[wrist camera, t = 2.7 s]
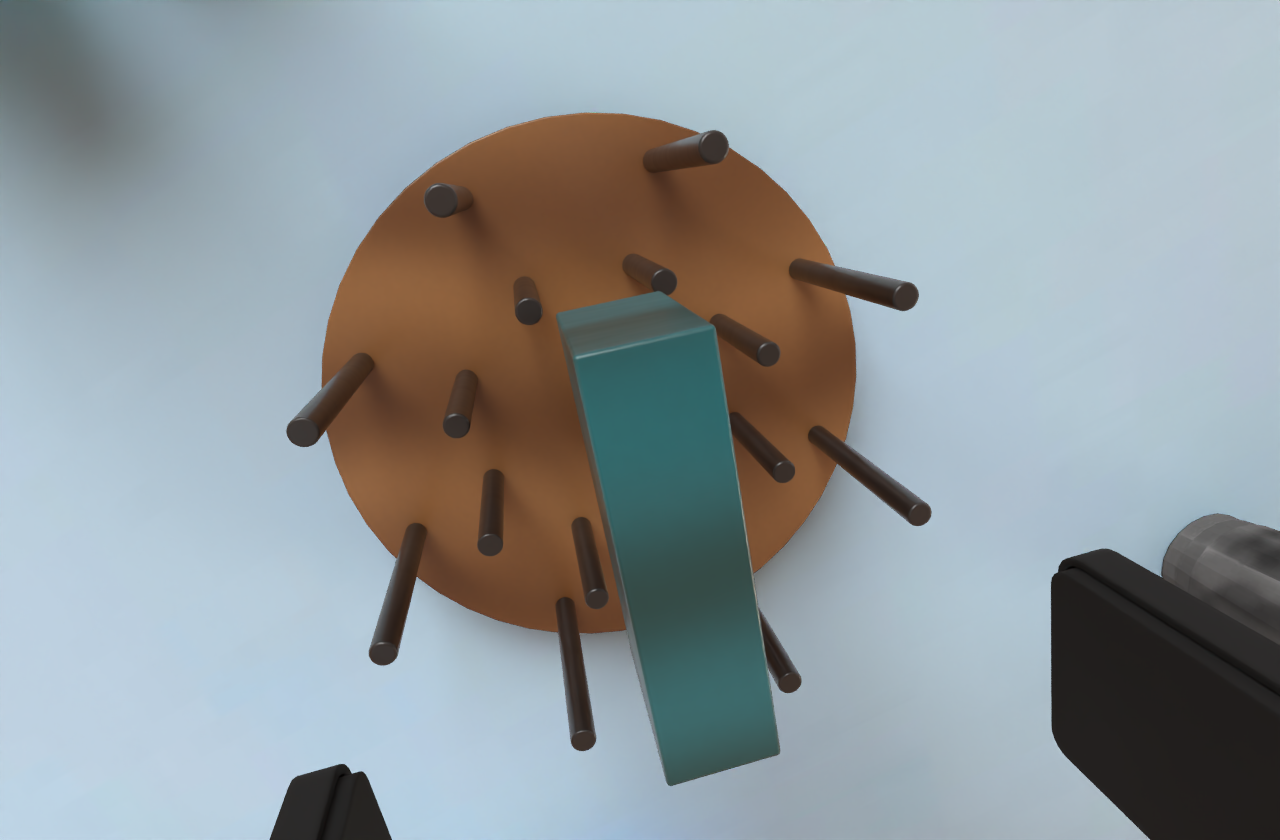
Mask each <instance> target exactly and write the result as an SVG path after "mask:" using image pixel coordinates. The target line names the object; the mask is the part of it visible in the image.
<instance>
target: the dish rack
mask: <svg viewBox="0 0 1280 840" xmlns="http://www.w3.org/2000/svg"><path fill="white" fill-rule="evenodd" d="M845 294H846V295H849V296H853V297H856V298H859V299H863V300H866V301H869V302H873V303H876V304H880V305H883V306H886V307H890V308H893V309H896V310H900V311H907V310H909V309H911V308H912V307H914V306H915V304H916V303H917V301H918V297H919V293H918V290H917V288H916V286H915V285H914V284H912V283H910V282H905V281H901V280H896V279H891V278H887V277H882V276H878V275H873V274H869V273H864V272H860V271H855V270H851V269H846V268H842V267H837V266H835V265H834V263H833V260H832V258H831V256H830V254H829V251H828V249H827V247H826V246H825V244H824V243H823V241H822V239H821V238H820V236H819V234H818V233H817V231H816V230H815V228H814V226H813V225H812V223H811V222H810V220H809V219H808V217H807V216H806V215H805V214H804V213H803V211H802V210H801V209H800V208H799V207H798V205H797V204H796V203H795V202H794V201H793V199H792V198H791V197H790V196H789V195H788V193H787V192H786V191H785V190H783V189H782V188H781V187H780V186H779V185H778V184H777V183H776V182H775V181H774V180H772V179H771V178H770V177H769V176H768V175H767V174H766V173H765V172H764V171H763V170H761V169H760V168H759V167H757V166H756V165H754V164H753V163H751V162H750V161H748V160H747V159H746V158H744V157H743V156H741V155H740V154H738V153H737V152H735V151H734V150H732V149H731V148H729V144H728V140H727V138H726V136H725V135H724V134H723V133H721V132H719V131H716V130H711V131H707V132H704V133H701V134H700V133H698V132H696V131H693V130H690V129H687V128H683V127H680V126H677V125H674V124H671V123H668V122H665V121H662V120H657V119H651V118H645V117H639V116H634V115H628V114H614V113H577V114H568V115H559V116H550V117H544V118H540V119H536V120H532V121H529V122H525V123H521V124H517V125H513V126H509V127H506V128H504V129H501V130H499V131H497V132H494V133H492V134H489V135H487V136H485V137H482V138H480V139H478V140H475V141H473V142H470V143H469V144H467V145H465V146H464V147H462V148H460V149H459V150H457V151H455V152H454V153H452V154H450V155H449V156H447V157H445V158H444V159H442V160H440V161H439V162H437V163H436V164H434V165H433V166H432V167H431V168H430V169H428V170H427V171H426V172H425V173H423V174H422V175H421V176H420V177H418V178H417V179H416V180H415V181H414V182H412V183H411V184H410V185H409V186H407V187H406V188H405V189H404V190H403V191H402V192H401V193H400V195H399V196H398V197H397V198H396V199H395V200H394V201H393V202H392V203H391V204H390V205H389V207H388V208H387V209H386V210H385V211H384V212H383V213H382V214H381V215H380V216H379V218H378V219H377V220H376V222H375V223H374V225H373V226H372V228H371V229H370V231H369V232H368V234H367V235H366V237H365V238H364V240H363V241H362V242H361V244H360V245H359V247H358V248H357V250H356V252H355V254H354V256H353V258H352V260H351V262H350V264H349V266H348V268H347V270H346V273H345V275H344V277H343V279H342V281H341V283H340V285H339V288H338V291H337V295H336V298H335V301H334V304H333V307H332V310H331V313H330V317H329V320H328V325H327V331H326V337H325V344H324V350H323V356H322V389H321V390H320V391H319V392H318V393H317V394H316V395H315V396H314V398H313V399H312V400H311V401H310V402H309V403H308V404H307V405H306V406H305V407H304V408H303V409H302V410H301V411H300V412H299V413H298V414H297V415H296V416H295V417H294V418H293V420H292V421H291V422H290V423H289V424H288V426H287V436H288V438H289V440H290V441H291V442H292V443H293V444H295V445H297V446H300V447H309V446H312V445H314V444H315V443H316V442H317V441H318V440H319V438H320V437H321V436H322V435H323V433H324V432H325V431H327V434H328V438H329V442H330V445H331V449H332V453H333V456H334V460H335V463H336V466H337V468H338V470H339V473H340V475H341V477H342V480H343V482H344V484H345V487H346V489H347V491H348V494H349V496H350V497H351V499H352V501H353V502H354V504H355V506H356V507H357V509H358V511H359V512H360V514H361V515H362V517H363V519H364V520H365V522H366V524H367V525H368V526H369V528H370V529H371V530H372V531H373V532H374V534H375V535H376V536H377V537H378V539H379V540H380V541H381V542H382V544H383V545H384V546H385V547H386V549H387V550H388V551H389V552H390V553H391V554H392V555H393V556H394V557H395V558H397V560H396V563H395V567H394V570H393V573H392V577H391V580H390V583H389V586H388V590H387V593H386V596H385V599H384V603H383V606H382V609H381V613H380V616H379V619H378V622H377V626H376V629H375V632H374V636H373V639H372V642H371V645H370V649H369V657H370V659H371V660H372V662H374V663H375V664H377V665H388V664H390V663H392V662H393V661H394V660H395V659H396V658H397V656H398V652H399V648H400V643H401V639H402V635H403V631H404V627H405V623H406V618H407V614H408V610H409V606H410V602H411V597H412V593H413V589H414V585H415V581H416V577H418V578H419V579H421V580H422V581H423V582H425V583H426V584H428V585H429V586H430V587H432V588H433V589H434V590H436V591H437V592H439V593H440V594H442V595H444V596H446V597H448V598H449V599H451V600H453V601H455V602H457V603H458V604H460V605H462V606H464V607H466V608H468V609H470V610H473V611H475V612H478V613H480V614H483V615H485V616H488V617H490V618H493V619H495V620H498V621H502V622H506V623H510V624H513V625H517V626H521V627H525V628H529V629H536V630H543V631H551V632H558V634H559V643H560V652H561V660H562V669H563V678H564V687H565V695H566V704H567V713H568V722H569V730H570V739H571V744H572V746H573V747H574V748H575V749H576V750H579V751H586V750H589V749H590V748H592V747H593V746H594V744H595V742H596V733H595V727H594V721H593V715H592V709H591V702H590V696H589V690H588V684H587V678H586V672H585V665H584V659H583V653H582V647H581V641H580V635H579V633H602V632H613V631H623V630H627V635H628V639H629V644H630V648H631V652H632V656H633V660H634V664H635V667H636V671H637V675H638V679H639V682H640V686H641V690H642V693H643V697H644V701H645V705H646V708H647V712H648V716H649V719H650V723H651V727H652V731H653V734H654V738H655V742H656V745H657V749H658V753H659V757H660V760H661V764H662V768H663V771H664V775H665V779H666V782H667V784H668V785H669V786H673V785H676V784H679V783H683V782H686V781H690V780H693V779H697V778H700V777H704V776H707V775H710V774H714V773H717V772H721V771H724V770H728V769H731V768H734V767H738V766H741V765H745V764H748V763H752V762H755V761H759V760H762V759H765V758H769V757H772V756H776V755H778V754H780V745H779V738H778V732H777V725H776V718H775V712H774V705H773V699H772V692H771V686H770V679H769V673H768V669H769V671H770V673H771V675H772V676H773V678H774V680H775V682H776V684H777V686H778V687H779V689H780V690H781V691H783V692H785V693H792V692H794V691H796V690H797V689H798V688H799V687H800V685H801V676H800V674H799V673H798V671H797V669H796V668H795V666H794V665H793V663H792V661H791V660H790V658H789V656H788V655H787V653H786V651H785V650H784V648H783V646H782V645H781V643H780V641H779V640H778V638H777V637H776V635H775V633H774V632H773V630H772V628H771V627H770V625H769V623H768V622H767V620H766V618H765V617H764V615H763V613H762V612H761V610H760V608H759V607H758V601H757V594H756V588H755V581H754V575H753V574H754V573H755V572H756V571H757V570H759V569H760V568H761V567H763V566H764V565H765V564H766V563H767V562H768V561H769V560H770V559H771V558H772V557H773V556H774V555H775V554H776V553H777V552H778V551H779V550H780V549H781V548H782V547H784V545H785V544H786V543H787V542H788V541H789V539H790V538H791V537H792V536H793V535H794V534H795V532H796V531H797V530H798V529H799V528H800V526H801V525H802V524H803V523H804V521H805V520H806V518H807V517H808V515H809V514H810V512H811V511H812V509H813V508H814V506H815V505H816V503H817V502H818V500H819V499H820V497H821V495H822V493H823V491H824V489H825V487H826V485H827V483H828V481H829V479H830V477H831V475H832V473H833V471H834V469H835V467H836V464H838V465H839V466H841V467H842V468H843V469H844V470H846V471H847V472H848V473H849V474H850V475H852V476H853V477H854V478H855V479H856V480H858V481H859V482H860V483H861V484H863V485H864V486H865V487H866V488H867V489H869V490H870V491H871V492H872V493H874V494H875V495H876V496H877V497H878V498H880V499H881V500H882V501H883V502H885V503H886V504H887V505H888V506H889V507H891V508H892V509H893V510H894V511H896V512H897V513H898V514H899V515H900V516H902V517H903V518H904V519H905V520H906V521H908V522H909V523H910V524H912V525H914V526H921V525H924V524H925V523H927V522H928V520H929V519H930V517H931V508H930V506H929V505H928V504H927V503H925V502H924V501H923V500H921V499H920V498H919V497H917V496H916V495H915V494H913V493H912V492H911V491H909V490H908V489H907V488H905V487H904V486H903V485H901V484H900V483H898V482H897V481H896V480H894V479H893V478H892V477H890V476H889V475H888V474H886V473H885V472H884V471H882V470H881V469H880V468H878V467H877V466H875V465H874V464H873V463H871V462H870V461H869V460H867V459H866V458H865V457H863V456H862V455H861V454H859V453H858V452H857V451H855V450H854V449H852V448H851V447H850V446H848V445H847V444H846V443H844V442H845V439H846V436H847V431H848V427H849V423H850V418H851V414H852V409H853V402H854V392H855V382H856V350H855V338H854V332H853V325H852V319H851V313H850V308H849V305H848V302H847V298H846V295H845Z"/></svg>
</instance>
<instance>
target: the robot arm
mask: <svg viewBox="0 0 1280 840" xmlns="http://www.w3.org/2000/svg"><path fill="white" fill-rule="evenodd" d="M1051 696H1052V732H1053V735H1054V739H1055V741H1056V743H1057V745H1058V747H1059V748H1060V750H1061V751H1062V753H1063V754H1064V755H1065V756H1066V757H1067V758H1068V759H1069V760H1070V761H1071V762H1072V763H1073V764H1074V765H1075V766H1076V767H1077V768H1078V769H1079V770H1080V771H1081V772H1082V773H1083V774H1084V775H1085V776H1086V777H1087V778H1088V779H1089V780H1090V781H1091V782H1092V783H1093V784H1094V785H1095V786H1096V787H1097V788H1098V789H1099V790H1100V791H1101V792H1102V793H1103V794H1104V795H1105V796H1107V797H1108V798H1109V799H1110V800H1111V801H1112V802H1113V803H1114V804H1115V805H1116V806H1117V807H1118V808H1119V809H1120V810H1121V811H1122V812H1123V813H1124V814H1125V815H1126V816H1127V817H1128V818H1129V819H1130V820H1131V821H1132V822H1133V823H1134V824H1135V825H1136V826H1137V827H1138V828H1139V829H1140V830H1141V831H1142V832H1143V833H1144V834H1145V835H1146V836H1147V837H1148V838H1149V839H1150V840H1280V645H1279V644H1277V643H1275V642H1273V641H1272V640H1270V639H1268V638H1266V637H1265V636H1263V635H1261V634H1259V633H1258V632H1256V631H1254V630H1252V629H1251V628H1249V627H1247V626H1245V625H1244V624H1242V623H1240V622H1238V621H1237V620H1235V619H1233V618H1231V617H1229V616H1228V615H1226V614H1224V613H1222V612H1221V611H1219V610H1217V609H1215V608H1214V607H1212V606H1210V605H1208V604H1207V603H1205V602H1203V601H1201V600H1200V599H1198V598H1196V597H1194V596H1193V595H1191V594H1189V593H1187V592H1186V591H1184V590H1182V589H1180V588H1179V587H1177V586H1175V585H1173V584H1172V583H1170V582H1168V581H1166V580H1165V579H1163V578H1161V577H1159V576H1158V575H1156V574H1154V573H1152V572H1150V571H1149V570H1147V569H1145V568H1143V567H1142V566H1140V565H1138V564H1136V563H1135V562H1133V561H1131V560H1129V559H1128V558H1126V557H1124V556H1122V555H1121V554H1119V553H1117V552H1115V551H1113V550H1110V549H1099V550H1095V551H1091V552H1088V553H1084V554H1081V555H1077V556H1074V557H1070V558H1067V559H1065V560H1063V561H1062V562H1061V564H1060V565H1059V569H1058V573H1056V574H1054V576H1053V577H1052V581H1051ZM270 840H392V839H391V836H390V834H389V831H388V829H387V826H386V823H385V821H384V818H383V816H382V813H381V811H380V808H379V806H378V803H377V800H376V798H375V795H374V793H373V790H372V788H371V785H370V783H369V780H368V778H367V776H366V774H365V773H364V772H357V773H353V774H352V773H351V771H350V769H349V768H348V767H347V766H346V765H345V764H339V765H336V766H332V767H328V768H325V769H321V770H318V771H314V772H311V773H307V774H304V775H300V776H297V777H295V778H294V779H293V780H292V781H291V783H290V785H289V787H288V790H287V793H286V795H285V798H284V801H283V804H282V807H281V809H280V812H279V815H278V818H277V820H276V823H275V826H274V829H273V832H272V834H271V837H270Z"/></svg>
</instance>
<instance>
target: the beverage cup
mask: <svg viewBox="0 0 1280 840" xmlns="http://www.w3.org/2000/svg"><path fill="white" fill-rule="evenodd" d="M1162 575H1163V579H1165V580H1166V581H1168V582H1170V583H1172V584H1173V585H1175V586H1177V587H1179V588H1180V589H1182V590H1184V591H1186V592H1187V593H1189V594H1191V595H1193V596H1194V597H1196V598H1198V599H1200V600H1201V601H1203V602H1205V603H1207V604H1208V605H1210V606H1212V607H1214V608H1215V609H1217V610H1219V611H1221V612H1222V613H1224V614H1226V615H1228V616H1229V617H1231V618H1233V619H1235V620H1237V621H1238V622H1240V623H1242V624H1244V625H1245V626H1247V627H1249V628H1251V629H1252V630H1254V631H1256V632H1258V633H1259V634H1261V635H1263V636H1265V637H1266V638H1268V639H1270V640H1272V641H1273V642H1275V643H1277V644H1279V645H1280V531H1277V530H1275V529H1272V528H1269V527H1266V526H1261V525H1256V524H1253V523H1250V522H1247V521H1242V520H1239V519H1236V518H1234V517H1232V516H1230V515H1223V514H1213V515H1208V516H1204V517H1202V518H1200V519H1198V520H1196V521H1194V522H1192V523H1190V524H1189V525H1188V526H1187V527H1186V528H1184V529H1183V530H1182V531H1181V532H1180V533H1179V534H1178V535H1177V536H1176V538H1175V539H1174V541H1173V542H1172V543H1171V545H1170V546H1169V548H1168V551H1167V553H1166V555H1165V558H1164V561H1163V569H1162Z"/></svg>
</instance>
